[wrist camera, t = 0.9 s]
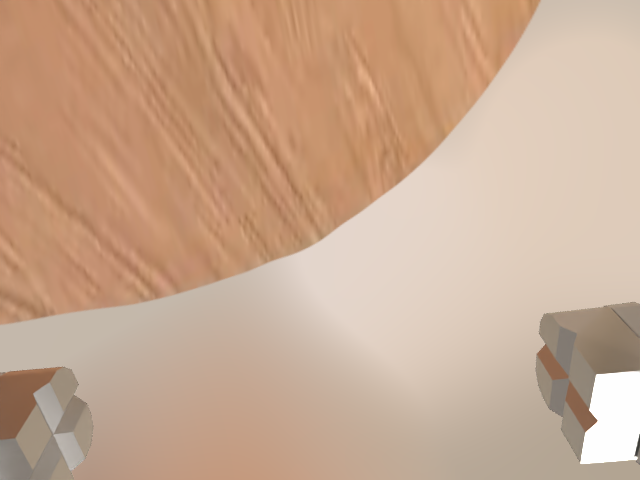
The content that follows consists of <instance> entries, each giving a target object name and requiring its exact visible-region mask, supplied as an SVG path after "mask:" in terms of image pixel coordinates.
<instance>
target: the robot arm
mask: <svg viewBox="0 0 640 480" xmlns="http://www.w3.org/2000/svg"><path fill="white" fill-rule="evenodd" d="M539 334H540V336H541V337H542V339H543V340H544V342H545V346H544V347H543V348H542V349H541V350H540V351H539V352H538V353H537V357H536V375H537V381H538V386H539V388H540V391H541V394H542V396H543V399H544V401H545V402H546V404H547V406H548V408H549V409H550V410H552V411H553V412H555V413H557V414H558V415H560V416H562V417H563V420H562V427H561V430H562V432H563V434H564V436H565V437H566V439H567V441H568V442H569V444H570V446H571V448H572V449H573V451H574V453H575V454H576V456H577V458H578V460H579V461H580V463H593V462H606V461H619V460H632V459H636V462H637V463H638V464H639V465H640V304H638V303H636V302H630V303H622V304H615V305H608V306H604V307H601V308H600V307H599V308H591V309H582V310H574V311H565V312H556V313H547V314H544V315H543V317H542V319H541V322H540V329H539ZM78 385H79V384H78V382H77V380H76V378H75V376H74V374H73V372H72V370H71V369H68V368H65V367H56V368H44V369H33V370H22V371H11V372H7V373H5V372H3V373H0V480H74V478H73V475H72V473H71V471H72V470H73V469H74V468H75V467H76V466H78V465H79V464H80V463H81V462H82V461H83V460H84V459H85V458H86V456H87V453H88V451H89V448H90V446H91V441H92V432H93V422H92V416H91V412H90V410H89V408H88V405H87V403H85V402H84V401H82V400H81V399H80V398H78V397H77V396H75V395H74V393H75V391H76V389H77V387H78Z"/></svg>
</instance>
